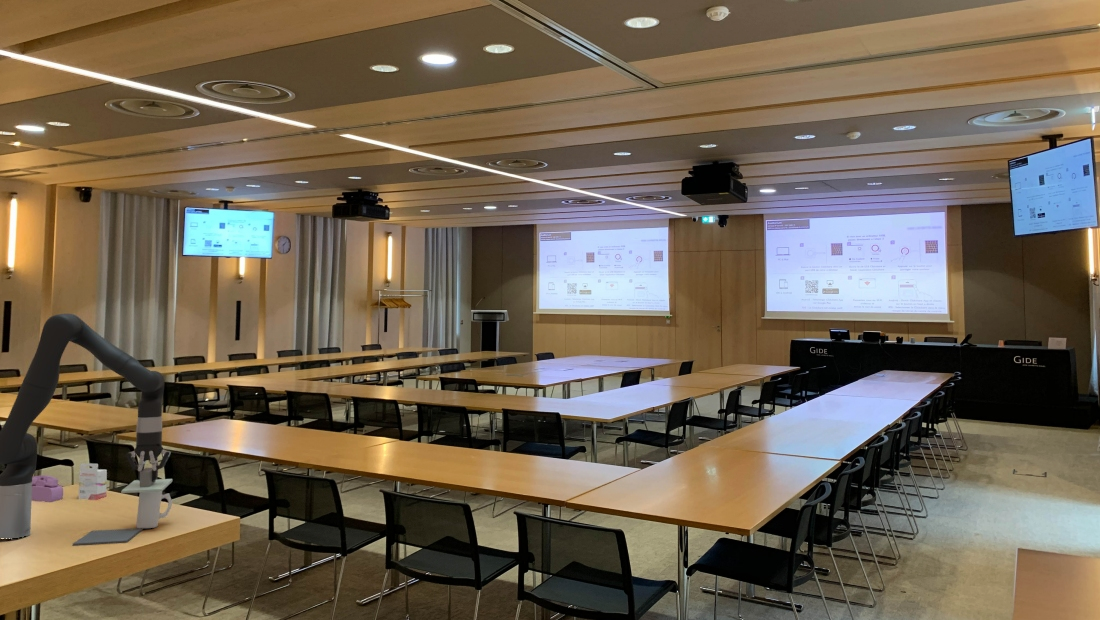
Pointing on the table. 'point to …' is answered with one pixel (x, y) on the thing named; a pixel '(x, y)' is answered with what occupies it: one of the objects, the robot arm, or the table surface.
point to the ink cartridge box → (92, 482)
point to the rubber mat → (108, 536)
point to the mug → (151, 509)
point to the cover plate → (147, 489)
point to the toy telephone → (46, 489)
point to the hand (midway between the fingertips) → (147, 481)
